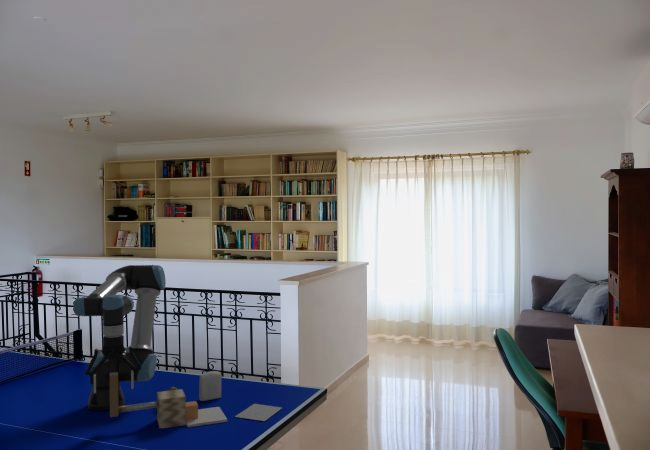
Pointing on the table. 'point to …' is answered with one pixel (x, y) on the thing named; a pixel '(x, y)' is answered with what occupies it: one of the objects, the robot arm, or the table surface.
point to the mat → (207, 417)
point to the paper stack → (259, 412)
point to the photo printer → (210, 386)
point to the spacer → (191, 410)
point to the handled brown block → (116, 409)
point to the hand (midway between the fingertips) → (113, 390)
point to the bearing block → (171, 408)
